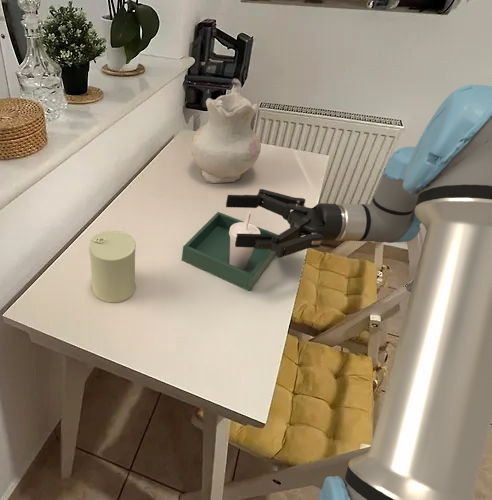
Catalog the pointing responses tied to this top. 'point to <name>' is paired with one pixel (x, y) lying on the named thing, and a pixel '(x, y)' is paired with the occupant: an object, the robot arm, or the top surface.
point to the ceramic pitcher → (226, 138)
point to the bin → (224, 253)
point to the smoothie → (241, 254)
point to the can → (112, 265)
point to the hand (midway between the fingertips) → (231, 219)
